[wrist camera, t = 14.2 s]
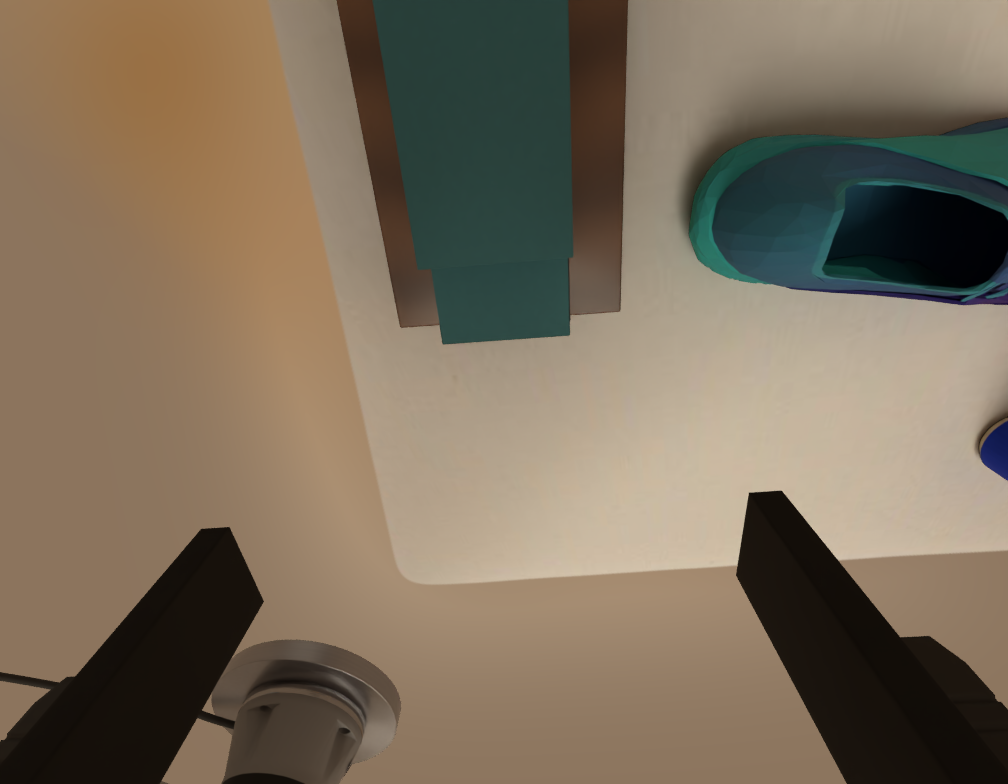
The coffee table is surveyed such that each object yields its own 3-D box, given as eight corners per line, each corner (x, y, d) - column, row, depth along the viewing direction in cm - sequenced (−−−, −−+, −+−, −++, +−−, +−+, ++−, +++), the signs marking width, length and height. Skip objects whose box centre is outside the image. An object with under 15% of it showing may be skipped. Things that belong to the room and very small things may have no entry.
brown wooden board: (295, -309, 20) (261, -379, 18) (622, -365, 19) (639, -447, 17) (409, 314, 33) (400, 328, 30) (612, 298, 32) (620, 312, 29)
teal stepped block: (396, -48, 22) (336, -145, 15) (558, -69, 21) (576, -179, 14) (449, 322, 30) (427, 374, 23) (568, 313, 29) (583, 364, 22)
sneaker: (1058, 304, 31) (1339, 384, 21) (666, 273, 31) (742, 337, 20) (1166, 129, 27) (1603, 113, 16) (707, 92, 27) (833, 51, 16)
